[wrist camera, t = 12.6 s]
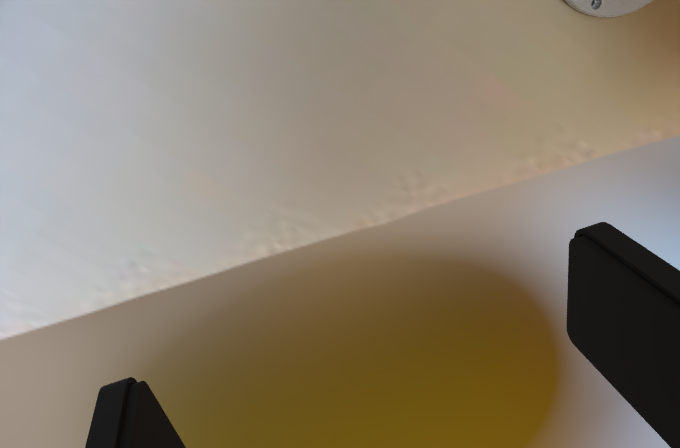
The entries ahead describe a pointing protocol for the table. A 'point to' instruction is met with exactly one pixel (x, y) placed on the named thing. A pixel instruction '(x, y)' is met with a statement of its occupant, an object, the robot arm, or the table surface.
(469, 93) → the table surface
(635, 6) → the robot arm
